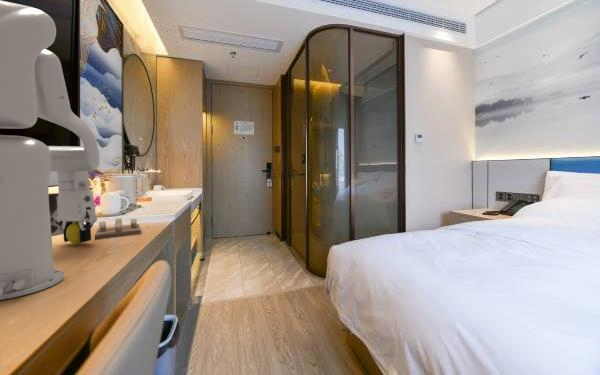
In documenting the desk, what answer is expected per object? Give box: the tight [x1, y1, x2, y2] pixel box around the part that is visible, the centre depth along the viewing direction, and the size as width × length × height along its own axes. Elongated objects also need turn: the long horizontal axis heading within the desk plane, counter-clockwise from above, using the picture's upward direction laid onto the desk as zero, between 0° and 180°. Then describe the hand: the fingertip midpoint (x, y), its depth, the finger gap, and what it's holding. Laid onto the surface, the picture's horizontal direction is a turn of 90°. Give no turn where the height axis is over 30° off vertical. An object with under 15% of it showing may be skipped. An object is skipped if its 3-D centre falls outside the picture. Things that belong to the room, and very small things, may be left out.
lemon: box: [66, 222, 86, 246], centre depth 84 cm, size 6×6×8 cm
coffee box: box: [48, 192, 69, 237], centre depth 101 cm, size 9×6×16 cm
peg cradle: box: [94, 218, 142, 241], centre depth 100 cm, size 14×14×5 cm
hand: (77, 240), depth 84 cm, fingers closed on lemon, 5 cm apart
